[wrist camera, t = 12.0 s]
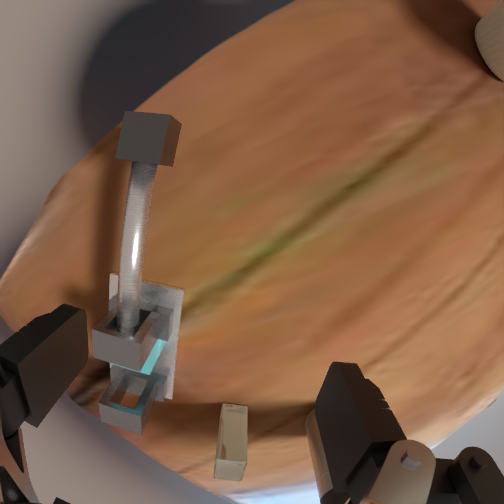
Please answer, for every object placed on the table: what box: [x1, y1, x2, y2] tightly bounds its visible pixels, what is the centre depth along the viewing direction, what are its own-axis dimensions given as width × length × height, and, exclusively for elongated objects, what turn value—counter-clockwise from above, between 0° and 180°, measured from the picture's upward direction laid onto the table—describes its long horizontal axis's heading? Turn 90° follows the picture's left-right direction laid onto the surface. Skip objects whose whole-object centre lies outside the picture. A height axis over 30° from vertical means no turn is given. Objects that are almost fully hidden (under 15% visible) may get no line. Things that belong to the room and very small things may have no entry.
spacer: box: [111, 339, 161, 375], centre depth 38 cm, size 6×4×6 cm, turn 78°
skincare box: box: [214, 403, 248, 481], centre depth 39 cm, size 6×4×12 cm
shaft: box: [115, 111, 182, 337], centre depth 31 cm, size 28×5×5 cm, turn 168°
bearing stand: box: [92, 272, 185, 435], centre depth 36 cm, size 11×20×11 cm, turn 168°
